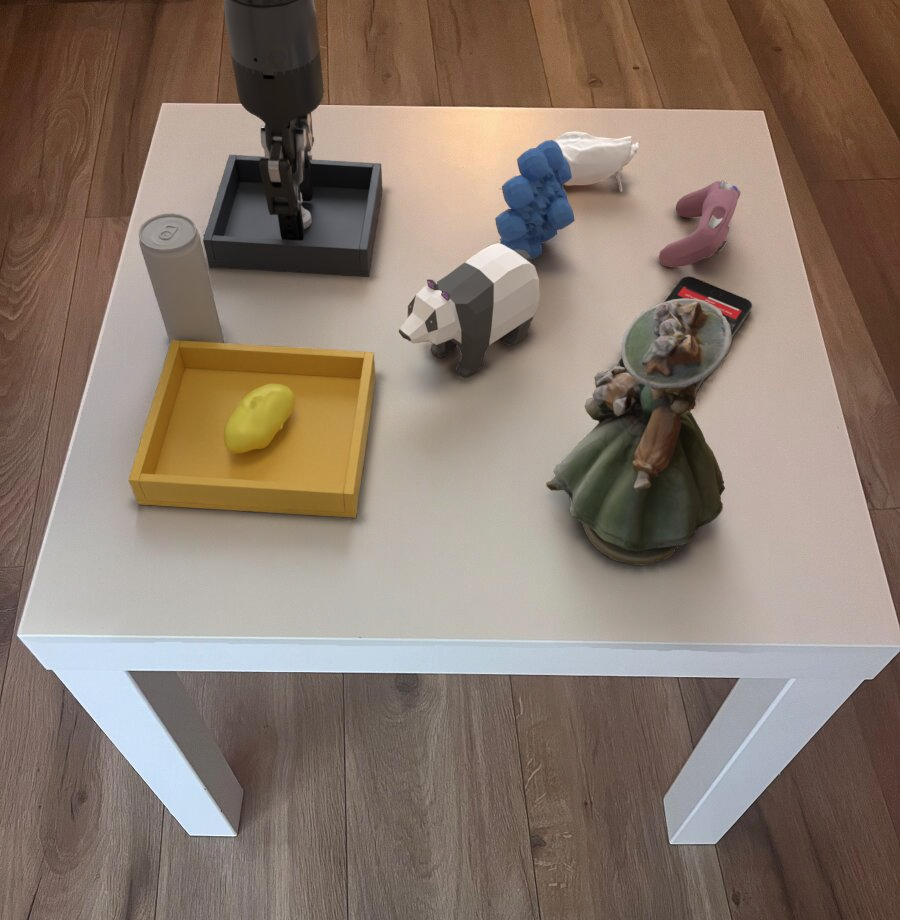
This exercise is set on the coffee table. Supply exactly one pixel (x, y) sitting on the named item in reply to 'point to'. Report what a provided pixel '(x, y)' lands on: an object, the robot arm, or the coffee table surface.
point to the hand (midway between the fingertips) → (297, 218)
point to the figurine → (649, 438)
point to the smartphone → (725, 301)
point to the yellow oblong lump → (258, 418)
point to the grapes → (536, 200)
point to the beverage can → (180, 278)
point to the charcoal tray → (325, 241)
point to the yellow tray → (285, 458)
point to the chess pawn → (305, 216)
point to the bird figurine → (595, 156)
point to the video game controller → (703, 224)
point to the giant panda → (476, 306)
